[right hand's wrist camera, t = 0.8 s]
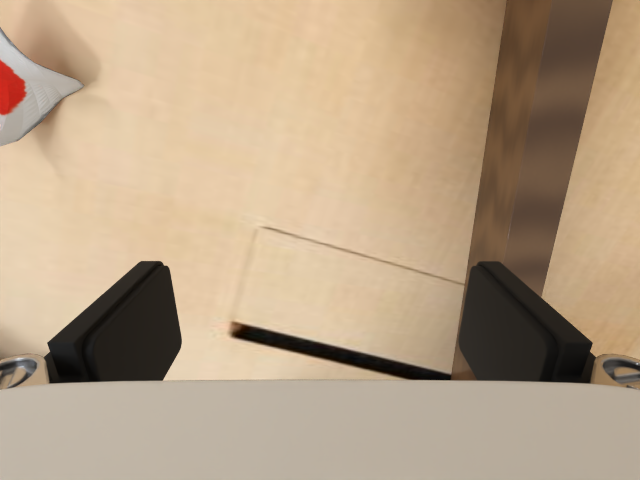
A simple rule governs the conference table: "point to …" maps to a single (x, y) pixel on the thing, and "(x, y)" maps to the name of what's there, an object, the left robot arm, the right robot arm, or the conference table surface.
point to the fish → (27, 92)
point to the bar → (533, 136)
